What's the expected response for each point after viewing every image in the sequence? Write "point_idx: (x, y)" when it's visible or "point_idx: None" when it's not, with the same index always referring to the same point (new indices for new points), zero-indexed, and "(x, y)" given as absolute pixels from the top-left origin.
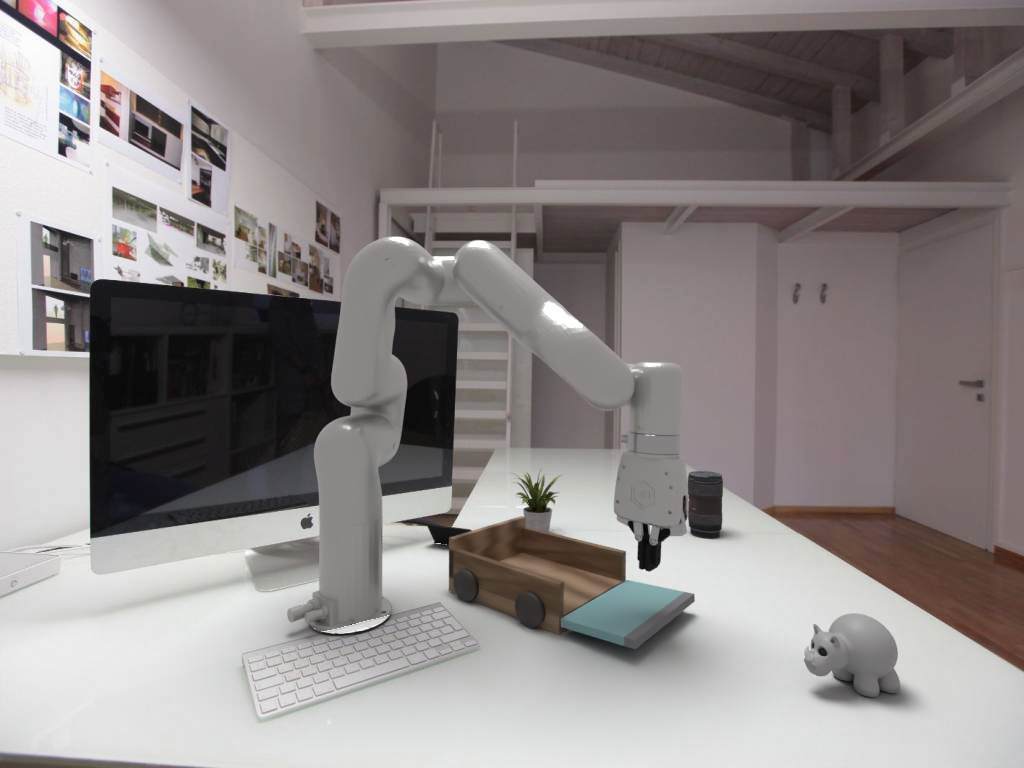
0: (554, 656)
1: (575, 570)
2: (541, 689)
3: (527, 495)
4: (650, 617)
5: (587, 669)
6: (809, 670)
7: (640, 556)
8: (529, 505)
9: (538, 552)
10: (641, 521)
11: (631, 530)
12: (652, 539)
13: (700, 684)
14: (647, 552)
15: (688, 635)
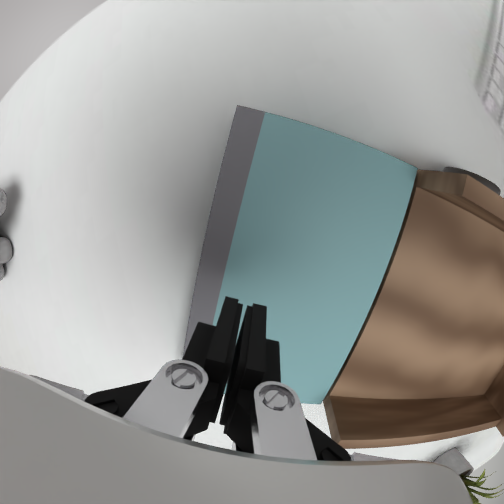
0: (383, 91)
1: (415, 391)
2: (356, 5)
3: (475, 485)
4: (231, 240)
5: (317, 69)
6: (3, 192)
7: (259, 328)
8: (470, 477)
9: (469, 401)
10: (232, 454)
11: (324, 434)
12: (187, 384)
13: (128, 118)
14: (222, 335)
15: (174, 280)
